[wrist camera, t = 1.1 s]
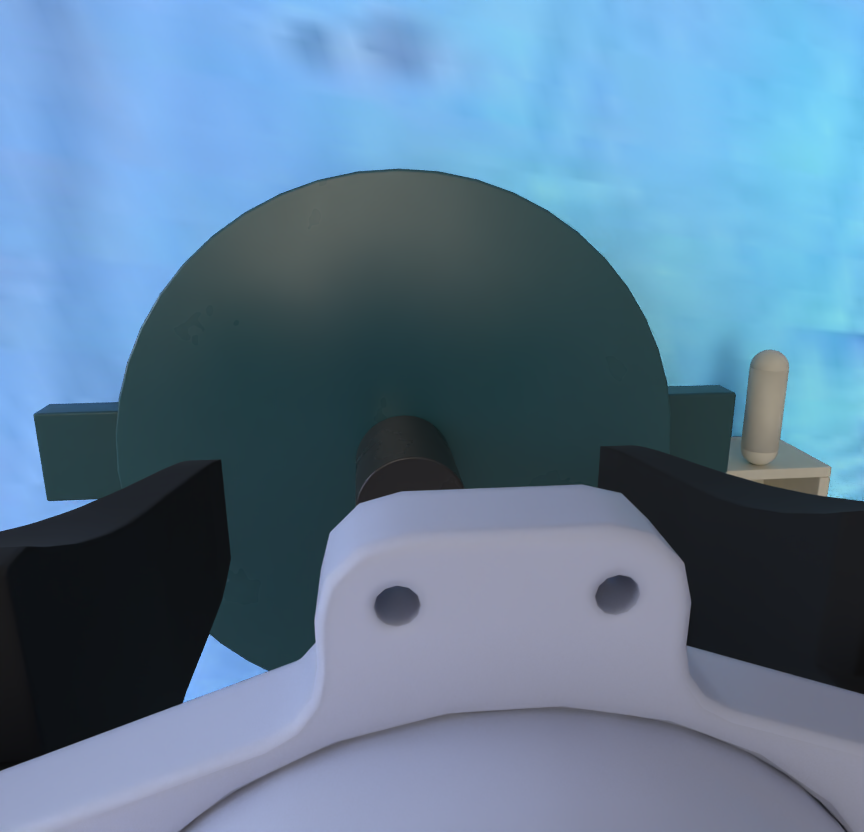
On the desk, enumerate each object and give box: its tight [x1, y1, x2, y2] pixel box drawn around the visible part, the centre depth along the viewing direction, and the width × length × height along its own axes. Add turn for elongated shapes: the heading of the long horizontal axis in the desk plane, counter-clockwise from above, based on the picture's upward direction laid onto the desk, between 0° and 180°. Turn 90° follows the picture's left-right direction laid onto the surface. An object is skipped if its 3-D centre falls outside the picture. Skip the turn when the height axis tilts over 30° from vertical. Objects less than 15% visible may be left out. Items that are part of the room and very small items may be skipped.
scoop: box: [727, 350, 831, 497], centre depth 25 cm, size 8×4×4 cm, turn 0°
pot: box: [34, 385, 736, 501], centre depth 22 cm, size 13×19×6 cm
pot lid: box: [116, 169, 671, 671], centre depth 17 cm, size 14×14×4 cm
